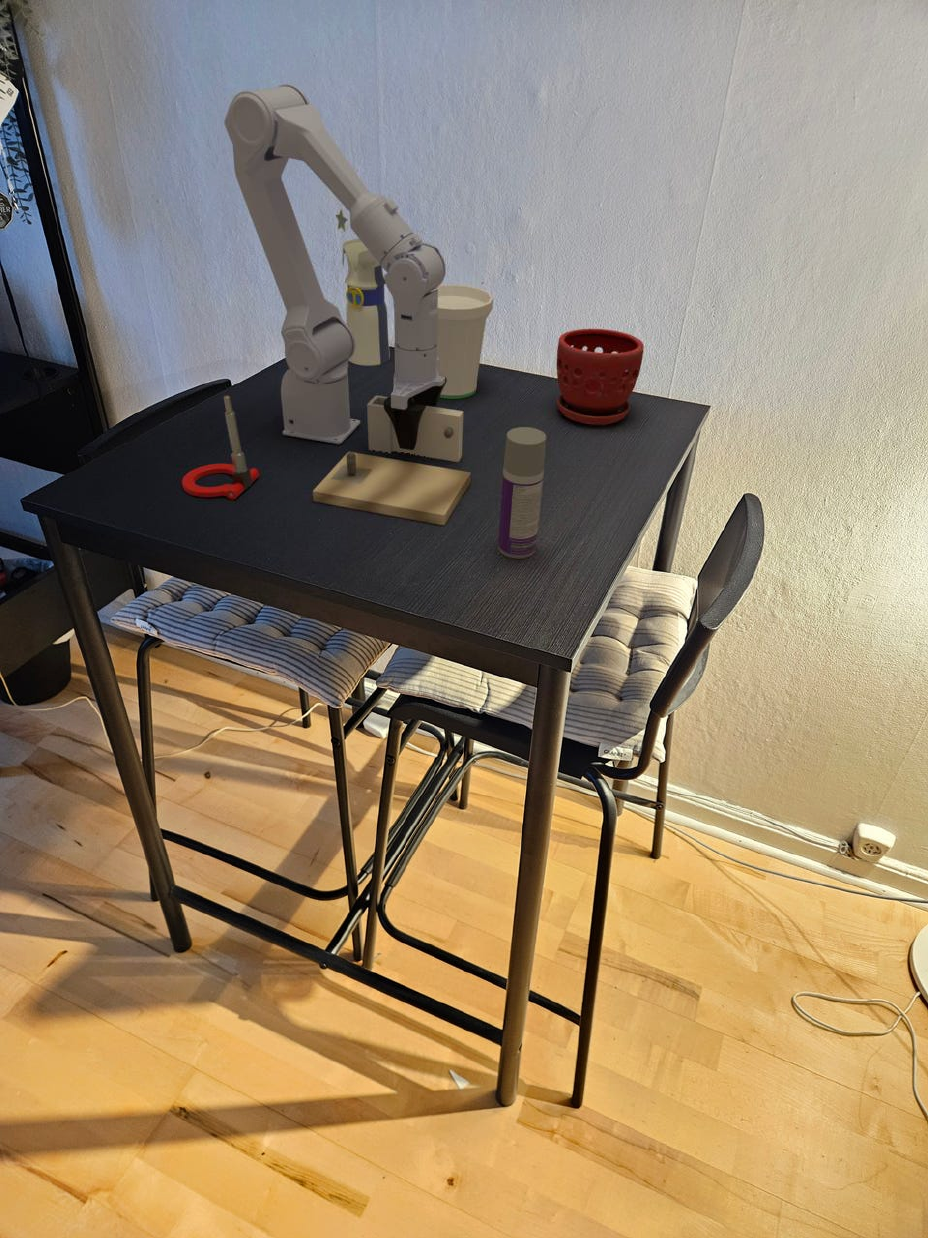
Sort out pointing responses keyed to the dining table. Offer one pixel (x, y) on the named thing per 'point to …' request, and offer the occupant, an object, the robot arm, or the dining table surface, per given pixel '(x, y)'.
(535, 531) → the container
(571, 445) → the dining table surface
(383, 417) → the door
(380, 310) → the cream spray bottle
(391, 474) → the base board
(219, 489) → the tow hook
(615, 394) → the plant pot
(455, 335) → the cup
